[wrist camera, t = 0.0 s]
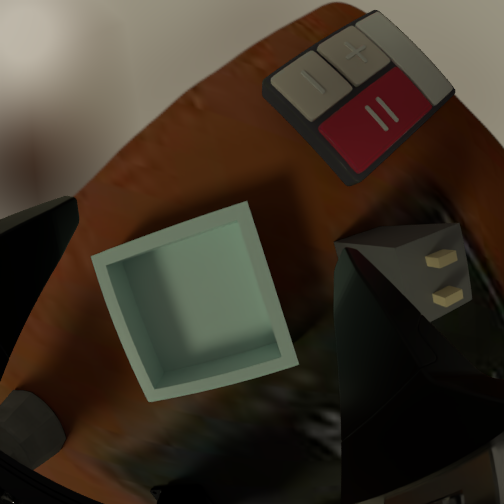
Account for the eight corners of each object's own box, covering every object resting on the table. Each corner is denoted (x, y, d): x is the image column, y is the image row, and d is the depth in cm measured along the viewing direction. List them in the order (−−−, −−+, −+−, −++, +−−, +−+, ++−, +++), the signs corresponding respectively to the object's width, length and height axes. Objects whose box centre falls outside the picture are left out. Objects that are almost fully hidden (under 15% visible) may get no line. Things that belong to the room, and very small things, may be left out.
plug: (392, 275, 25) (485, 303, 12) (347, 292, 25) (423, 337, 12) (379, 226, 24) (472, 222, 12) (333, 242, 24) (407, 249, 12)
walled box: (291, 345, 25) (298, 364, 21) (161, 380, 25) (148, 402, 21) (247, 206, 24) (247, 200, 20) (112, 253, 24) (90, 256, 20)
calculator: (259, 77, 20) (378, 3, 19) (259, 98, 25) (366, 26, 23) (361, 183, 21) (461, 88, 20) (345, 189, 25) (440, 102, 24)
